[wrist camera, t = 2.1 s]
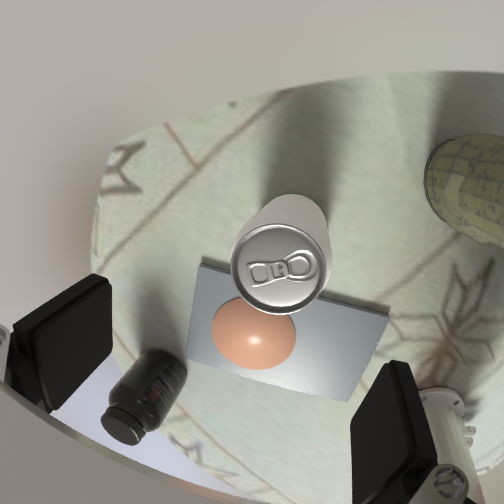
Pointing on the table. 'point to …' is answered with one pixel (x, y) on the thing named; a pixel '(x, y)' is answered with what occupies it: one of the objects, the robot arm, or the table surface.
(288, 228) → the can
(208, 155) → the table surface
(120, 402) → the supplement bottle
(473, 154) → the thermos
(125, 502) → the robot arm
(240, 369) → the card
